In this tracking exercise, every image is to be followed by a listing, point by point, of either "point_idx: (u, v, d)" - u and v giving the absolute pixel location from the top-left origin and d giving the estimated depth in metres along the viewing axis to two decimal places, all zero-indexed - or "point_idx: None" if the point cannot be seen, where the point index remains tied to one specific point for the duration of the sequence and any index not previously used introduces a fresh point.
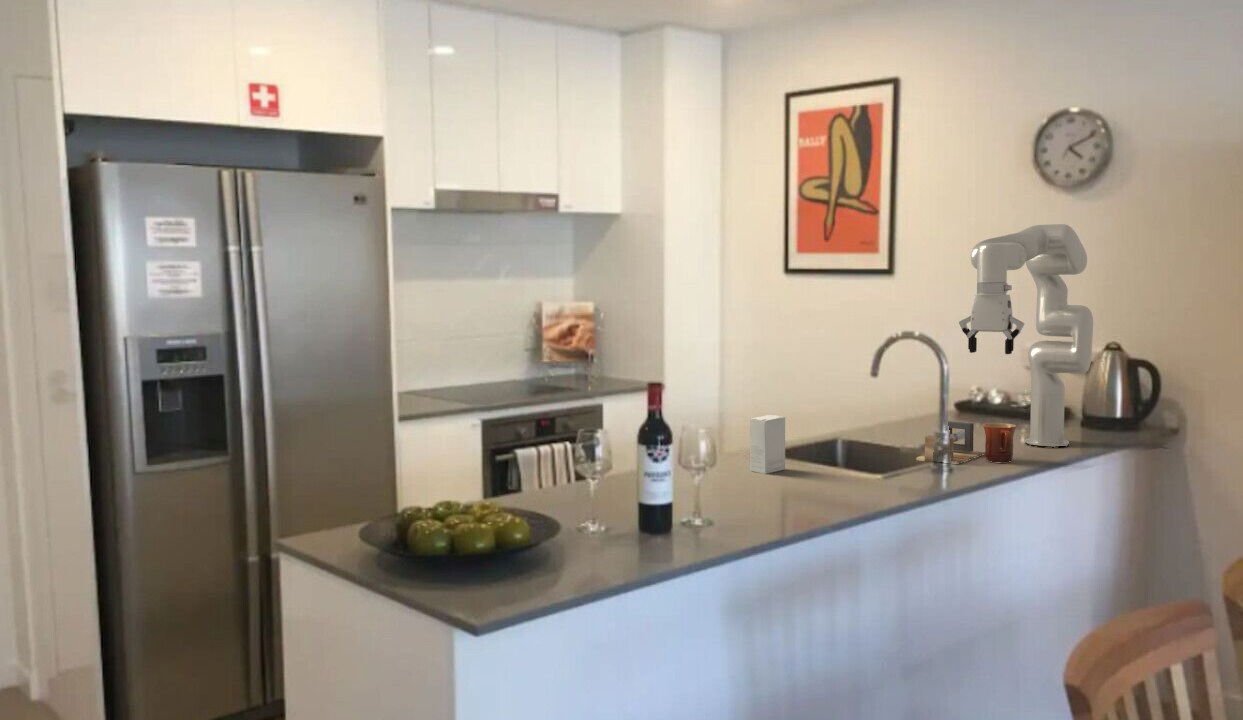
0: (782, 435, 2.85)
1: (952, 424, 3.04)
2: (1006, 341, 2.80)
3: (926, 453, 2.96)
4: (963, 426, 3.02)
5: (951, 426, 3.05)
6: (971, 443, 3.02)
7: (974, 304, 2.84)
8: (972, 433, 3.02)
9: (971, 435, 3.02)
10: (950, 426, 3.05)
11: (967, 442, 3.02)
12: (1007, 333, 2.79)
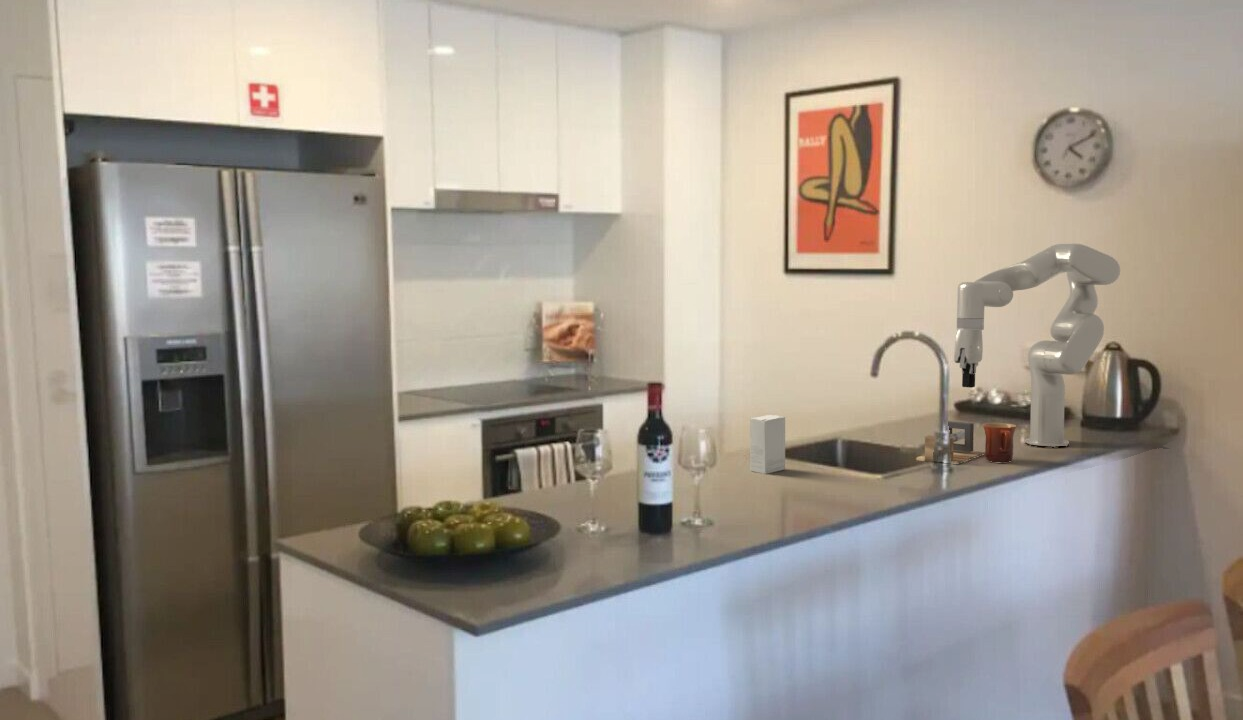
0: (782, 435, 2.85)
1: (952, 424, 3.04)
2: (974, 375, 3.08)
3: (926, 453, 2.96)
4: (963, 426, 3.02)
5: (951, 426, 3.05)
6: (971, 443, 3.02)
7: (971, 339, 3.04)
8: (972, 433, 3.02)
9: (971, 435, 3.02)
10: (950, 426, 3.05)
11: (967, 442, 3.02)
12: (975, 367, 3.09)
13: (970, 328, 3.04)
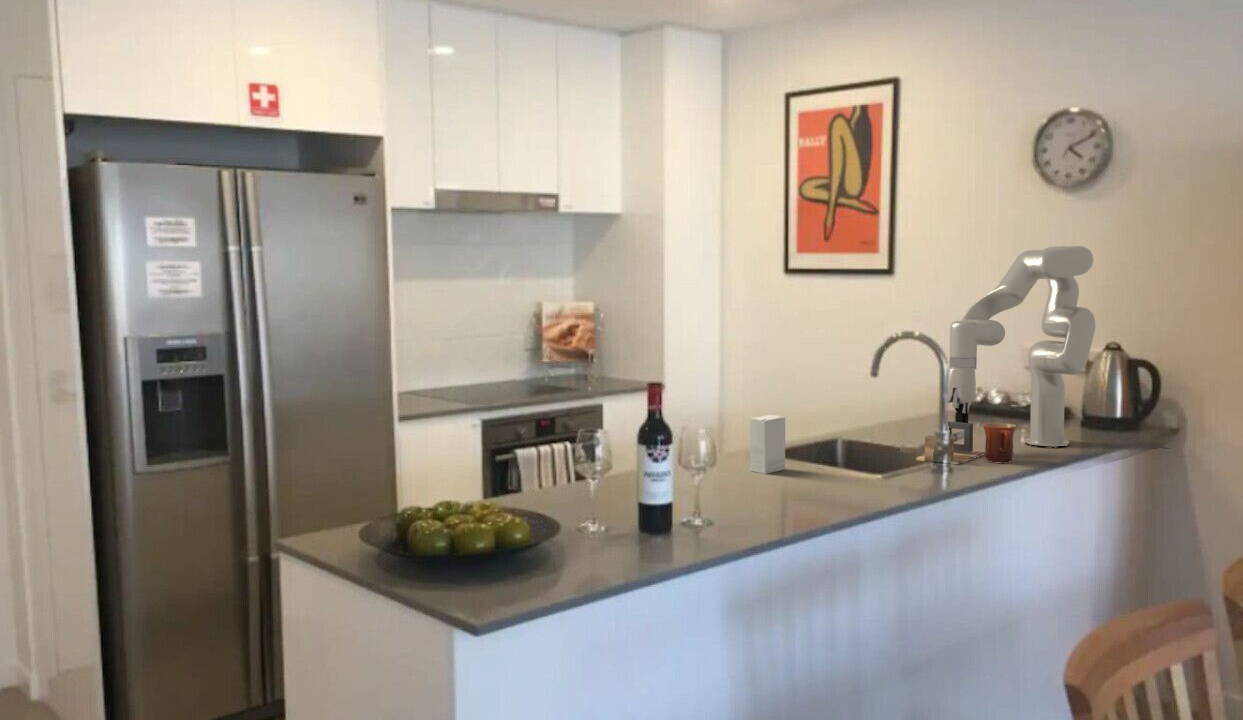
0: (782, 435, 2.85)
1: (951, 424, 3.04)
2: (967, 415, 3.06)
3: (926, 453, 2.96)
4: (962, 427, 3.02)
5: (950, 426, 3.04)
6: (970, 443, 3.02)
7: (964, 378, 3.01)
8: (971, 433, 3.02)
9: (970, 435, 3.02)
10: (949, 426, 3.05)
11: (966, 442, 3.02)
12: (968, 407, 3.06)
13: (963, 368, 3.01)
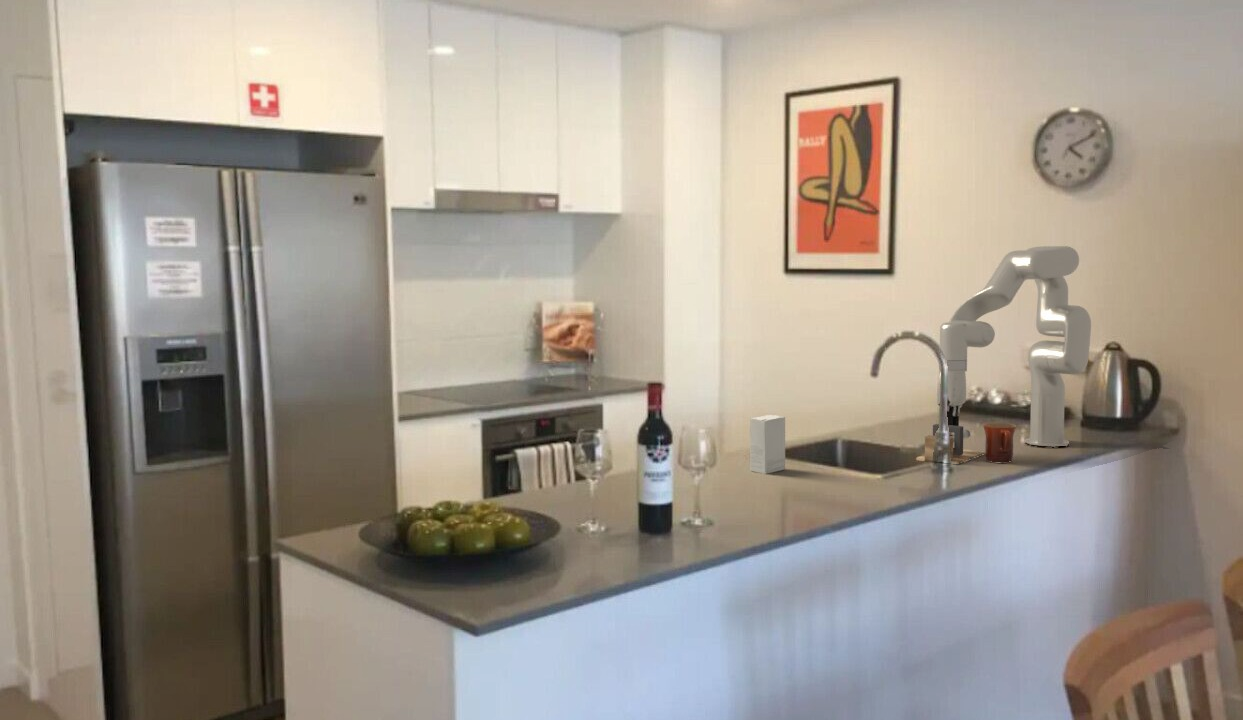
0: (782, 435, 2.85)
1: None
2: (958, 418, 3.00)
3: (926, 453, 2.96)
4: (952, 430, 2.97)
5: None
6: (961, 446, 2.97)
7: (954, 381, 2.96)
8: (962, 436, 2.97)
9: (961, 438, 2.97)
10: None
11: (957, 445, 2.97)
12: (959, 409, 3.01)
13: (953, 370, 2.96)
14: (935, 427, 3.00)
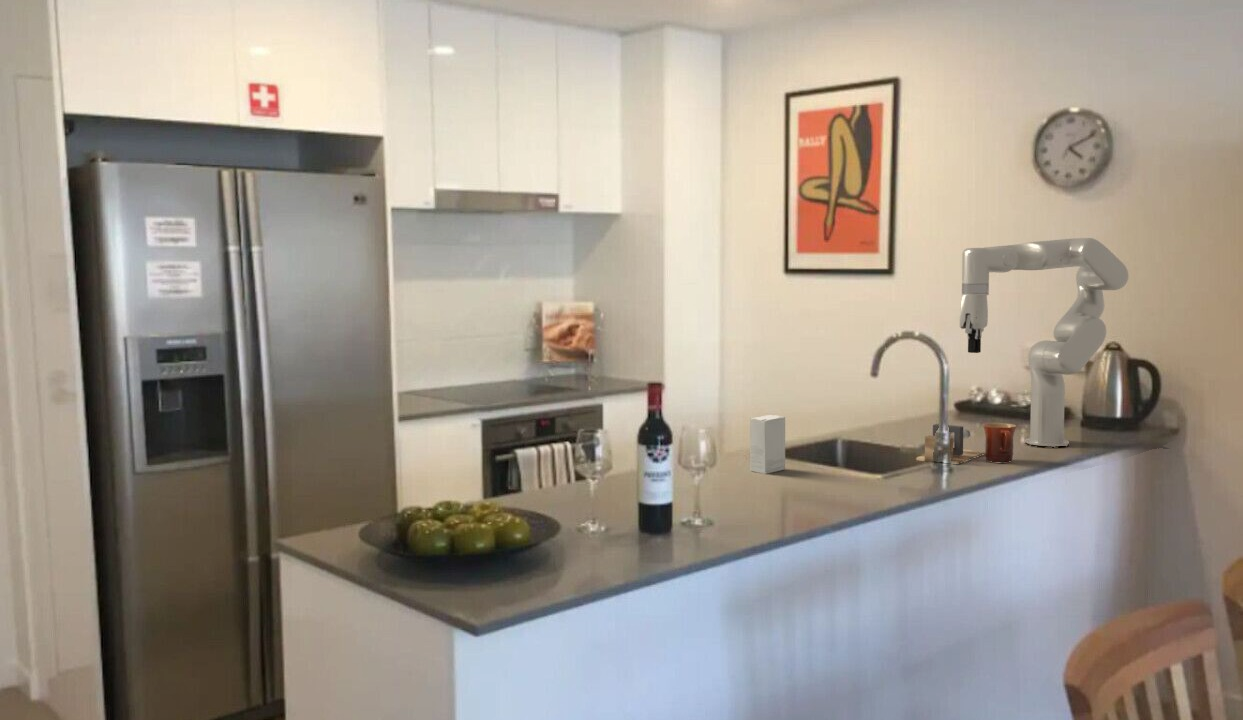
0: (782, 435, 2.85)
1: None
2: (980, 341, 3.10)
3: (926, 453, 2.96)
4: (952, 430, 2.97)
5: None
6: (961, 446, 2.97)
7: (977, 304, 3.05)
8: (962, 436, 2.97)
9: (961, 438, 2.97)
10: None
11: (957, 445, 2.97)
12: (981, 333, 3.10)
13: (975, 293, 3.06)
14: (935, 427, 3.00)
